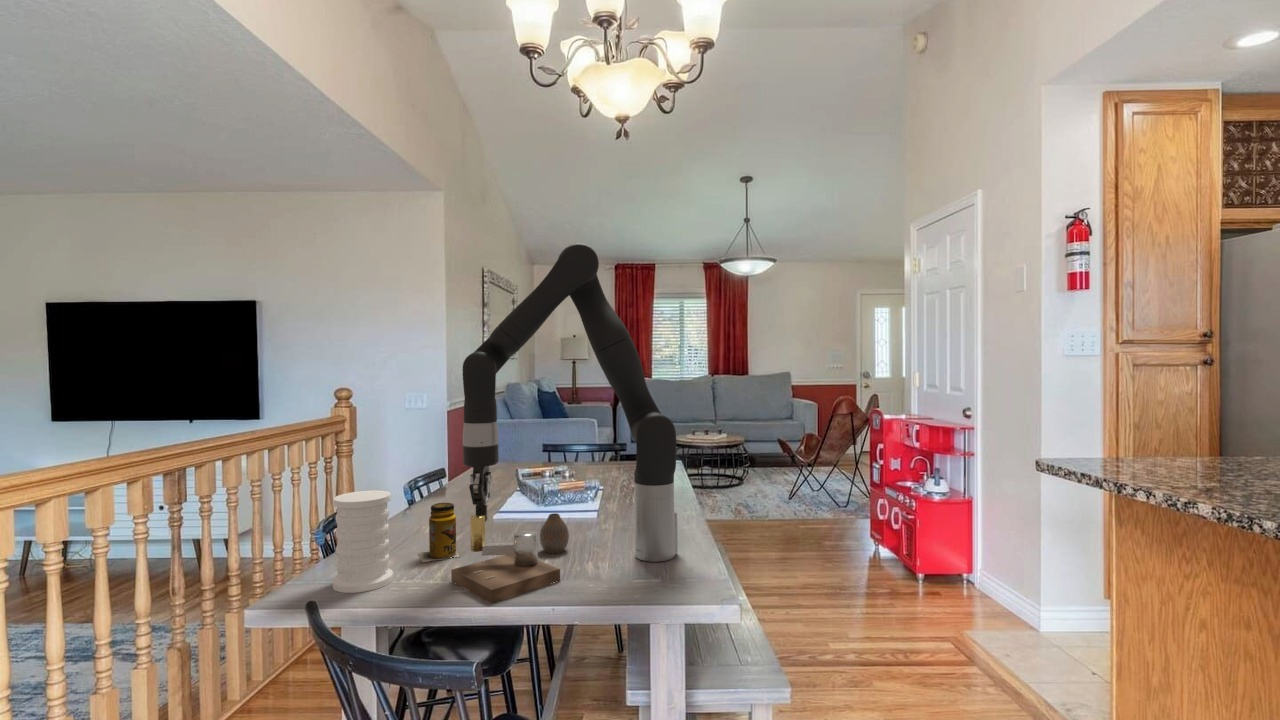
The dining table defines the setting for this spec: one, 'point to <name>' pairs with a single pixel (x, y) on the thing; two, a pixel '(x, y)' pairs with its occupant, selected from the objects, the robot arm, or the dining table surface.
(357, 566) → the decorative container
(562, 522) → the vase
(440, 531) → the condiment
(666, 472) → the robot arm
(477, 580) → the stand
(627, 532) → the dining table surface
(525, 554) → the crank handle
